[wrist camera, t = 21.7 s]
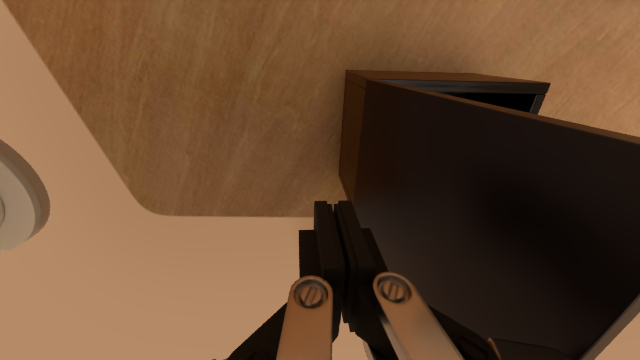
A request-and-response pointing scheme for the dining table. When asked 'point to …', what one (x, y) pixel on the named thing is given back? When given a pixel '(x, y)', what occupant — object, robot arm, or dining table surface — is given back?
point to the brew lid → (503, 216)
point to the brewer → (459, 85)
